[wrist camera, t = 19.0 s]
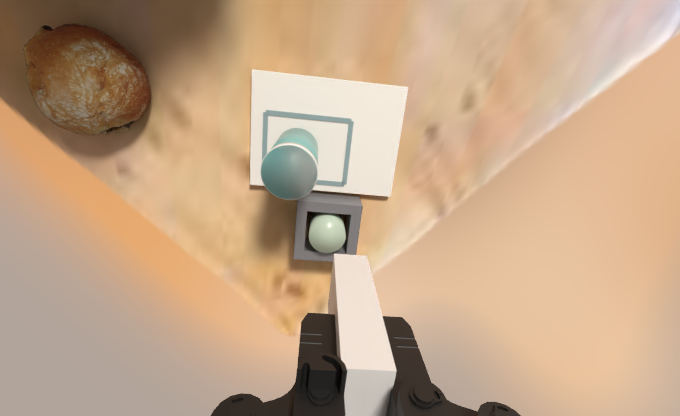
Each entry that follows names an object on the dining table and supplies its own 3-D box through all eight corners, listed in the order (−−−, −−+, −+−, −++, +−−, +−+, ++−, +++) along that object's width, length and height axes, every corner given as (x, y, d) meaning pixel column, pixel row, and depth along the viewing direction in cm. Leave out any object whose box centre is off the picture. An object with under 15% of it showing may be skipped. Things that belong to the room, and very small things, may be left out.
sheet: (251, 182, 39) (249, 184, 38) (253, 69, 35) (251, 69, 34) (389, 194, 40) (390, 197, 39) (406, 87, 36) (408, 87, 35)
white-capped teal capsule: (275, 164, 37) (258, 196, 27) (278, 123, 36) (262, 140, 26) (315, 170, 38) (314, 203, 28) (321, 129, 36) (321, 148, 26)
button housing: (295, 245, 42) (293, 259, 38) (299, 191, 39) (297, 200, 36) (352, 249, 42) (354, 263, 39) (359, 196, 40) (362, 206, 37)
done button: (308, 236, 41) (307, 251, 37) (311, 205, 40) (310, 217, 36) (341, 238, 41) (343, 254, 38) (345, 208, 40) (347, 220, 36)
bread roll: (108, 131, 40) (91, 170, 34) (8, 55, 33) (-35, 88, 27) (173, 82, 38) (167, 114, 33) (83, -8, 31) (55, 12, 25)
